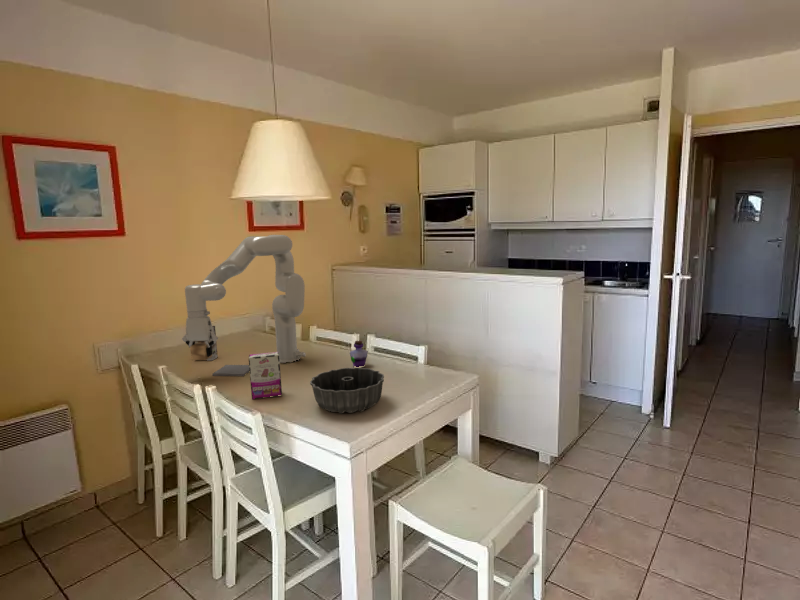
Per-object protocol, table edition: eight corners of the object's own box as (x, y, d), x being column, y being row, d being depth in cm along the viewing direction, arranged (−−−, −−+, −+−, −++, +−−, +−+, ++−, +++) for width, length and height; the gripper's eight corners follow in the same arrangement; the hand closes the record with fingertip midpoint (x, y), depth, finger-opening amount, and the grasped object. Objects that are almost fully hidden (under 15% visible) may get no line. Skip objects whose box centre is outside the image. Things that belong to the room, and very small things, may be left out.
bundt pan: (295, 409, 166) (294, 382, 164) (344, 387, 188) (343, 363, 186) (353, 426, 151) (352, 396, 150) (399, 399, 173) (398, 373, 171)
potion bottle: (346, 368, 212) (345, 342, 210) (355, 362, 220) (355, 337, 218) (362, 370, 208) (362, 344, 206) (372, 364, 216) (371, 339, 214)
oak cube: (212, 356, 202) (210, 342, 201) (205, 360, 196) (203, 346, 195) (199, 356, 202) (197, 342, 201) (191, 360, 196) (190, 346, 195)
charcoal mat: (255, 367, 216) (255, 365, 216) (243, 376, 203) (243, 374, 203) (226, 366, 217) (225, 364, 217) (212, 375, 205) (212, 373, 204)
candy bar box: (281, 392, 183) (279, 351, 181) (282, 396, 178) (279, 354, 176) (251, 395, 180) (248, 353, 178) (251, 399, 176) (248, 357, 173)
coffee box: (218, 357, 234) (215, 325, 231) (212, 360, 227) (209, 328, 225) (200, 357, 235) (198, 325, 232) (194, 360, 228) (191, 328, 226)
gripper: (221, 312, 199) (225, 353, 202) (182, 312, 200) (187, 353, 203) (212, 315, 191) (217, 358, 194) (172, 316, 193) (177, 358, 196)
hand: (201, 355), depth 199 cm, fingers closed on oak cube, 6 cm apart
